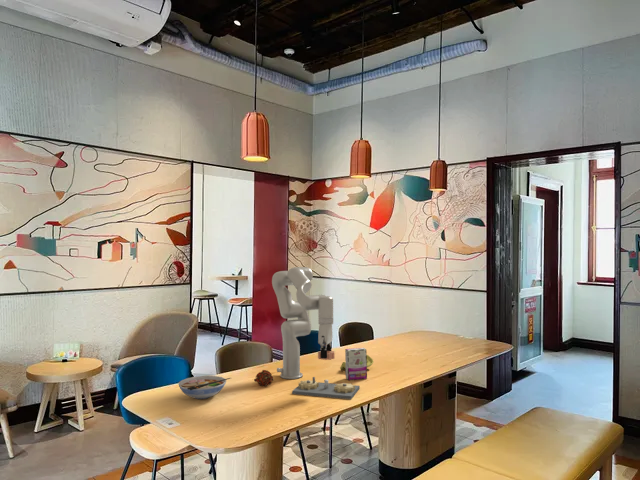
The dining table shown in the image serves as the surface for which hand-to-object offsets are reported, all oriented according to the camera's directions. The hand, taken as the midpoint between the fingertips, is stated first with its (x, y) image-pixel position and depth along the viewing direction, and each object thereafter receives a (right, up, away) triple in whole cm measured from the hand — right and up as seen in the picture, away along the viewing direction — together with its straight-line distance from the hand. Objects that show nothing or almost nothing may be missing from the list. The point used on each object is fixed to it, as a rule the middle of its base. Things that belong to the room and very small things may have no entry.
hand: (326, 356), depth 232 cm
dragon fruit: (-33, -18, +11) cm, 39 cm away
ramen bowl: (-60, -18, -9) cm, 63 cm away
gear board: (0, -18, 0) cm, 18 cm away
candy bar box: (+17, -18, +23) cm, 34 cm away
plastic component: (+20, -19, +42) cm, 50 cm away
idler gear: (0, -1, 0) cm, 1 cm away
